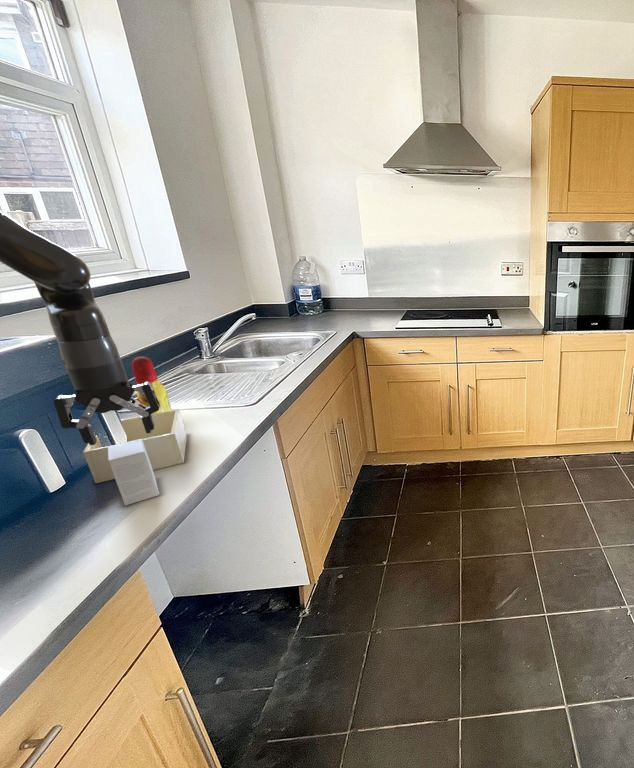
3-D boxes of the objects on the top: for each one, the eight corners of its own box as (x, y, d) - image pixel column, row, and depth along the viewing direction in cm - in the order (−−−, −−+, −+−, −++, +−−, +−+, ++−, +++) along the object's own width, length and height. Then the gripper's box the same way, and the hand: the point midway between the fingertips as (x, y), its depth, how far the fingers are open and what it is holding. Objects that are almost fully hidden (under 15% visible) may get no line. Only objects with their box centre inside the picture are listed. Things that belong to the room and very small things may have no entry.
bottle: (170, 428, 117) (148, 360, 110) (141, 433, 114) (117, 364, 107) (177, 413, 127) (158, 350, 120) (150, 417, 124) (129, 353, 117)
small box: (123, 489, 89) (106, 446, 85) (156, 479, 92) (142, 437, 89) (124, 506, 83) (106, 460, 80) (159, 495, 87) (144, 451, 83)
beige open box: (95, 483, 91) (82, 452, 88) (110, 451, 105) (100, 423, 102) (183, 462, 99) (174, 433, 97) (187, 435, 113) (179, 408, 110)
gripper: (144, 350, 85) (168, 422, 90) (45, 362, 77) (78, 440, 83) (140, 359, 79) (165, 435, 84) (32, 373, 71) (68, 455, 77)
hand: (122, 437), depth 84 cm, fingers open, 8 cm apart
